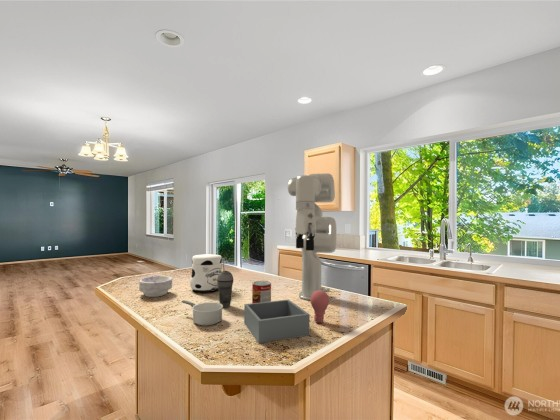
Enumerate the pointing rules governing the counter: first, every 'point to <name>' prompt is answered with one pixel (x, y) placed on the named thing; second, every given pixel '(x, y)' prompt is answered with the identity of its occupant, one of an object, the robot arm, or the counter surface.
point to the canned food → (261, 291)
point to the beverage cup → (225, 287)
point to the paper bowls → (155, 285)
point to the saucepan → (206, 312)
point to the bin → (276, 320)
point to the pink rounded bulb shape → (319, 304)
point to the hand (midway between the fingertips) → (304, 249)
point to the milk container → (205, 272)
